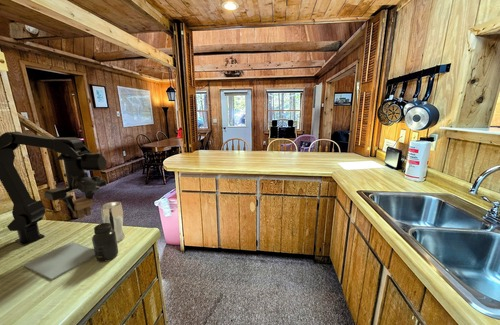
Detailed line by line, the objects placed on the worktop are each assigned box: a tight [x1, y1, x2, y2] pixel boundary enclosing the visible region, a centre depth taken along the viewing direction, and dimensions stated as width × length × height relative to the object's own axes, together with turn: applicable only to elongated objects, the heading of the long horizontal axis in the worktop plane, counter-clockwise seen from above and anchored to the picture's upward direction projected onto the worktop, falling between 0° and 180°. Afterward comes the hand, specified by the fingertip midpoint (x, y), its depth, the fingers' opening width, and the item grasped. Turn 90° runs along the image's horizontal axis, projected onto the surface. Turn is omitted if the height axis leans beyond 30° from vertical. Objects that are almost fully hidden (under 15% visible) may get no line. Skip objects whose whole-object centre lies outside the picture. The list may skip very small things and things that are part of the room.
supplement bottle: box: [91, 222, 119, 263], centre depth 73 cm, size 7×7×12 cm
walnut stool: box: [72, 196, 94, 220], centre depth 83 cm, size 6×6×6 cm
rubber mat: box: [23, 241, 95, 281], centre depth 72 cm, size 16×14×1 cm
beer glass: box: [101, 201, 125, 243], centre depth 83 cm, size 7×7×15 cm
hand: (81, 208), depth 83 cm, fingers closed on walnut stool, 5 cm apart
